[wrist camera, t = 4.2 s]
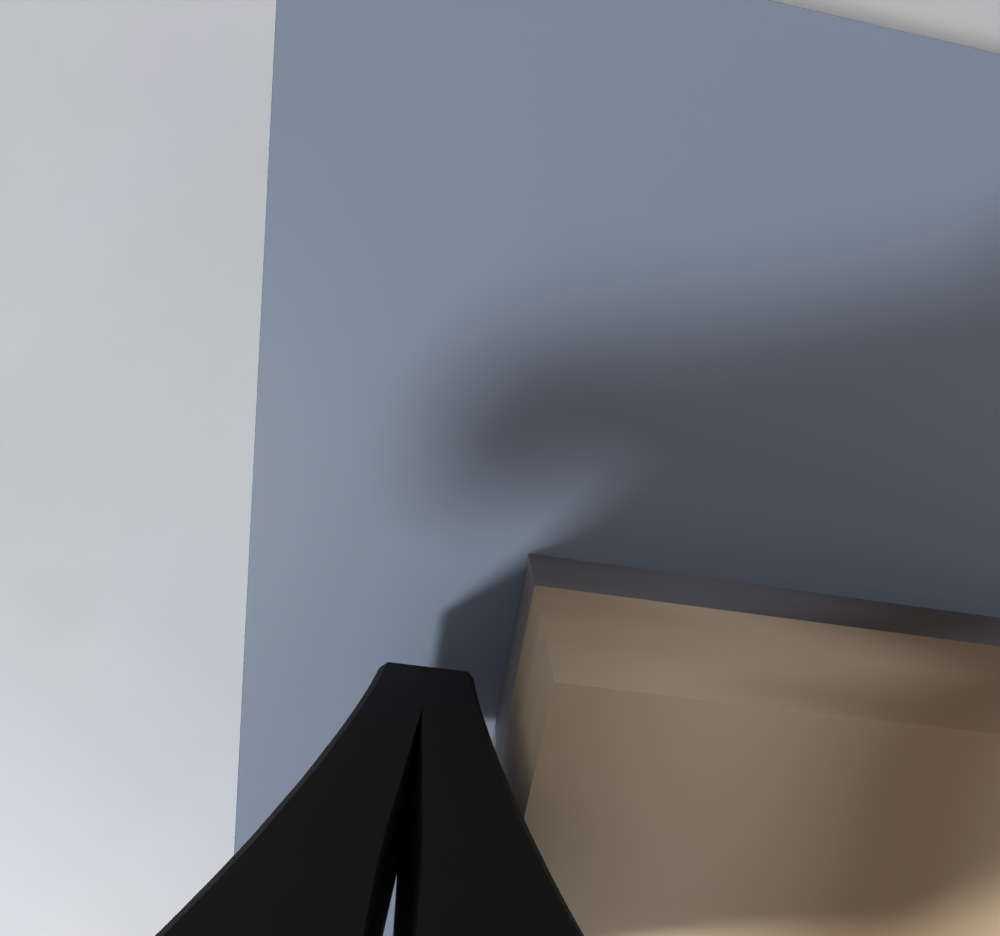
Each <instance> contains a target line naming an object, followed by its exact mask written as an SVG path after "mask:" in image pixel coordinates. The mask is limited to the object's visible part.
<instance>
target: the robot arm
mask: <svg viewBox="0 0 1000 936" xmlns="http://www.w3.org/2000/svg"><path fill="white" fill-rule="evenodd" d="M396 876H397V880H396ZM395 880H396V895H395V910H394V925H393V936H584V935H583V933H582V931H581V929H580V928H579V926H578V924H577V922H576V921H575V919H574V917H573V915H572V913H571V911H570V910H569V908H568V906H567V904H566V902H565V900H564V898H563V897H562V895H561V893H560V891H559V889H558V887H557V885H556V883H555V881H554V879H553V877H552V876H551V874H550V872H549V870H548V868H547V866H546V864H545V862H544V860H543V857H542V855H541V853H540V851H539V849H538V847H537V845H536V843H535V841H534V839H533V837H532V835H531V833H530V831H529V829H528V827H527V824H526V822H525V820H524V818H523V816H522V813H521V811H520V809H519V807H518V805H517V802H516V800H515V797H514V795H513V793H512V790H511V788H510V785H509V783H508V781H507V778H506V776H505V774H504V771H503V769H502V766H501V764H500V762H499V759H498V756H497V754H496V751H495V748H494V746H493V743H492V740H491V737H490V735H489V732H488V729H487V726H486V723H485V720H484V717H483V714H482V711H481V707H480V704H479V700H478V696H477V692H476V688H475V684H474V679H473V678H472V676H471V675H470V674H469V672H468V671H459V670H451V669H443V668H434V667H426V666H417V665H409V664H400V663H392V662H387V663H386V664H384V665H383V666H381V667H380V668H379V669H378V671H377V673H376V675H375V677H374V679H373V680H372V682H371V684H370V685H369V687H368V689H367V690H366V692H365V694H364V695H363V697H362V698H361V700H360V701H359V703H358V704H357V706H356V707H355V709H354V710H353V712H352V713H351V714H350V716H349V717H348V719H347V720H346V721H345V723H344V724H343V726H342V727H341V728H340V730H339V731H338V732H337V734H336V735H335V736H334V738H333V739H332V740H331V742H330V743H329V744H328V745H327V747H326V748H325V749H324V751H323V752H322V753H321V754H320V756H319V757H318V758H317V760H316V761H315V762H314V764H313V765H312V766H311V767H310V769H309V770H308V771H307V772H306V774H305V775H304V776H303V777H302V779H301V780H300V781H299V782H298V783H297V785H296V786H295V787H294V788H293V789H292V790H291V791H290V793H289V794H288V795H287V796H286V797H285V798H284V800H283V801H282V802H281V803H280V804H279V805H278V806H277V808H276V809H275V810H274V811H273V812H272V813H271V815H270V816H269V817H268V818H267V819H266V820H265V822H264V823H263V824H262V825H261V826H260V827H259V828H258V830H257V831H256V832H255V833H254V834H253V835H252V836H251V838H250V839H249V840H248V841H247V842H246V843H245V844H244V845H243V846H242V847H241V848H240V849H239V851H238V852H237V853H236V854H235V855H234V856H233V857H232V858H231V859H230V860H229V861H228V862H227V863H226V865H225V866H224V867H223V868H222V869H221V870H220V871H219V872H218V873H217V874H216V875H215V876H214V877H213V878H212V879H211V880H210V881H209V882H208V883H207V884H206V885H205V886H204V887H203V888H202V889H201V890H200V891H199V892H198V893H197V894H196V895H195V896H194V898H193V899H192V900H191V901H190V902H189V903H188V904H187V905H186V906H185V907H184V908H183V909H182V910H181V911H180V912H179V913H178V914H177V915H176V916H175V917H174V918H173V919H172V920H171V921H170V922H169V923H168V924H167V925H166V926H165V927H164V928H163V929H162V930H161V931H160V932H159V933H157V934H156V935H155V936H383V933H384V929H385V924H386V920H387V915H388V911H389V907H390V902H391V898H392V893H393V889H394V885H395Z"/></svg>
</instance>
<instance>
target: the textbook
mask: <svg viewBox="0 0 1000 936" xmlns="http://www.w3.org/2000/svg"><path fill="white" fill-rule="evenodd" d="M528 554H535V555H542V556H549V557H557V558H564V559H571V560H579V561H586V562H593V563H601V564H608V565H615V566H623V567H630V568H638V569H645V570H652V571H660V572H667V573H674V574H682V575H689V576H696V577H704V578H711V579H718V580H726V581H733V582H740V583H748V584H755V585H762V586H770V587H777V588H784V589H792V590H799V591H806V592H814V593H821V594H828V595H836V596H843V597H850V598H858V599H865V600H872V601H880V602H887V603H894V604H902V605H909V606H916V607H924V608H931V609H938V610H946V611H953V612H960V613H968V614H975V615H983V616H990V617H997V618H1000V54H996V53H992V52H988V51H983V50H979V49H975V48H971V47H966V46H962V45H958V44H954V43H949V42H945V41H941V40H937V39H932V38H928V37H924V36H920V35H915V34H911V33H907V32H903V31H898V30H894V29H890V28H885V27H881V26H877V25H873V24H868V23H864V22H860V21H856V20H851V19H847V18H843V17H839V16H834V15H830V14H826V13H822V12H817V11H813V10H809V9H805V8H800V7H796V6H792V5H787V4H783V3H779V2H775V1H770V0H277V1H276V21H275V41H274V62H273V82H272V102H271V122H270V142H269V162H268V182H267V202H266V223H265V243H264V263H263V283H262V303H261V323H260V343H259V364H258V384H257V404H256V424H255V444H254V464H253V484H252V504H251V525H250V545H249V565H248V585H247V605H246V625H245V645H244V666H243V686H242V706H241V726H240V746H239V766H238V786H237V806H236V827H235V847H234V855H235V854H236V853H237V852H238V851H239V849H240V848H241V847H242V846H243V845H244V844H245V843H246V842H247V841H248V840H249V839H250V838H251V836H252V835H253V834H254V833H255V832H256V831H257V830H258V828H259V827H260V826H261V825H262V824H263V823H264V822H265V820H266V819H267V818H268V817H269V816H270V815H271V813H272V812H273V811H274V810H275V809H276V808H277V806H278V805H279V804H280V803H281V802H282V801H283V800H284V798H285V797H286V796H287V795H288V794H289V793H290V791H291V790H292V789H293V788H294V787H295V786H296V785H297V783H298V782H299V781H300V780H301V779H302V777H303V776H304V775H305V774H306V772H307V771H308V770H309V769H310V767H311V766H312V765H313V764H314V762H315V761H316V760H317V758H318V757H319V756H320V754H321V753H322V752H323V751H324V749H325V748H326V747H327V745H328V744H329V743H330V742H331V740H332V739H333V738H334V736H335V735H336V734H337V732H338V731H339V730H340V728H341V727H342V726H343V724H344V723H345V721H346V720H347V719H348V717H349V716H350V714H351V713H352V712H353V710H354V709H355V707H356V706H357V704H358V703H359V701H360V700H361V698H362V697H363V695H364V694H365V692H366V690H367V689H368V687H369V685H370V684H371V682H372V680H373V679H374V677H375V675H376V673H377V671H378V669H379V668H380V667H381V666H383V665H384V664H386V663H387V662H392V663H400V664H409V665H417V666H426V667H434V668H443V669H451V670H459V671H468V672H469V674H470V675H471V676H472V678H473V679H474V684H475V688H476V692H477V696H478V700H479V704H480V707H481V711H482V714H483V717H484V720H485V723H486V726H487V729H488V732H489V735H490V737H491V740H492V737H493V732H494V727H495V722H496V716H497V711H498V706H499V701H500V696H501V691H502V686H503V681H504V675H505V670H506V665H507V660H508V655H509V650H510V645H511V639H512V634H513V629H514V624H515V619H516V614H517V609H518V604H519V598H520V593H521V588H522V583H523V578H524V573H525V568H526V563H527V557H528ZM396 880H397V876H396ZM396 880H395V885H394V889H393V893H392V898H391V902H390V907H389V911H388V915H387V920H386V924H385V929H384V933H383V936H393V925H394V910H395V895H396Z"/></svg>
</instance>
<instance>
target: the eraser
mask: <svg viewBox="0 0 1000 936" xmlns="http://www.w3.org/2000/svg"><path fill="white" fill-rule="evenodd" d="M492 743H493V746H494V748H495V751H496V754H497V756H498V759H499V762H500V764H501V766H502V769H503V771H504V774H505V776H506V778H507V781H508V783H509V785H510V788H511V790H512V793H513V795H514V797H515V800H516V802H517V805H518V807H519V809H520V811H521V813H522V816H523V818H524V820H525V822H526V824H527V827H528V829H529V831H530V833H531V835H532V837H533V839H534V841H535V843H536V845H537V847H538V849H539V851H540V853H541V855H542V857H543V860H544V862H545V864H546V866H547V868H548V870H549V872H550V874H551V876H552V877H553V879H554V881H555V883H556V885H557V887H558V889H559V891H560V893H561V895H562V897H563V898H564V900H565V902H566V904H567V906H568V908H569V910H570V911H571V913H572V915H573V917H574V919H575V921H576V922H577V924H578V926H579V928H580V929H581V931H582V933H583V935H584V936H1000V618H997V617H990V616H983V615H975V614H968V613H960V612H953V611H946V610H938V609H931V608H924V607H916V606H909V605H902V604H894V603H887V602H880V601H872V600H865V599H858V598H850V597H843V596H836V595H828V594H821V593H814V592H806V591H799V590H792V589H784V588H777V587H770V586H762V585H755V584H748V583H740V582H733V581H726V580H718V579H711V578H704V577H696V576H689V575H682V574H674V573H667V572H660V571H652V570H645V569H638V568H630V567H623V566H615V565H608V564H601V563H593V562H586V561H579V560H571V559H564V558H557V557H549V556H542V555H535V554H528V557H527V563H526V568H525V573H524V578H523V583H522V588H521V593H520V598H519V604H518V609H517V614H516V619H515V624H514V629H513V634H512V639H511V645H510V650H509V655H508V660H507V665H506V670H505V675H504V681H503V686H502V691H501V696H500V701H499V706H498V711H497V716H496V722H495V727H494V732H493V737H492Z"/></svg>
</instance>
